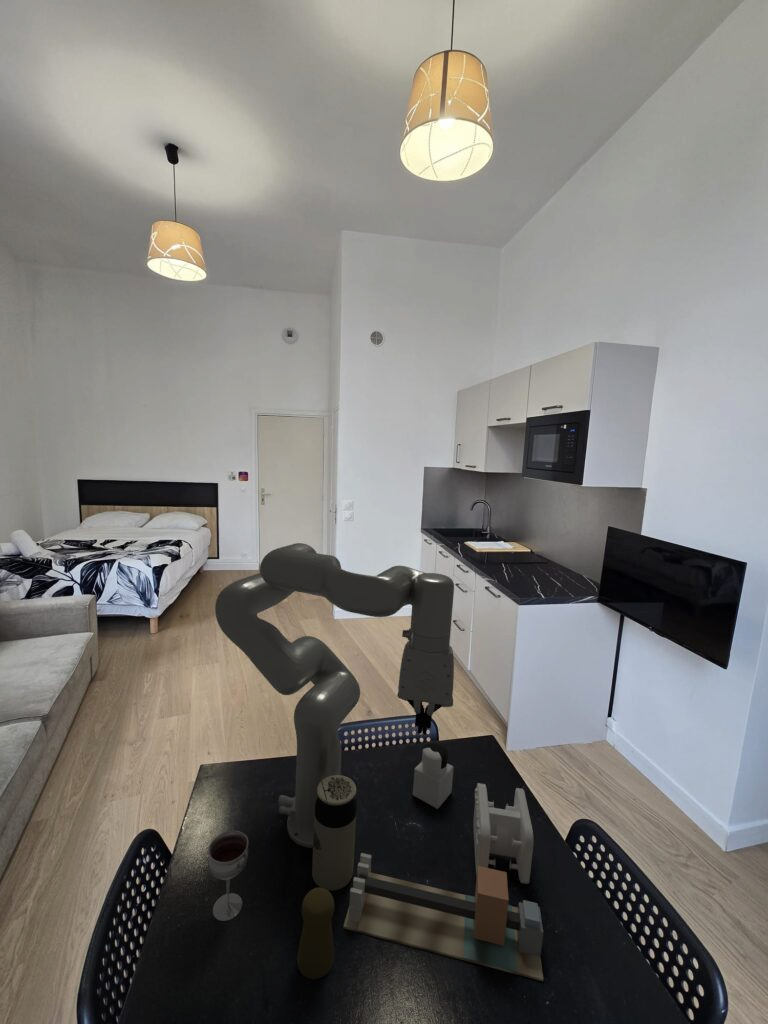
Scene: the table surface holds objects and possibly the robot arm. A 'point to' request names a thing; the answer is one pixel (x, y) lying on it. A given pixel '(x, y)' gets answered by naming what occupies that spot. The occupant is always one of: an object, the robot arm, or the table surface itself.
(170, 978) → the table surface
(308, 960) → the yellow peg figure
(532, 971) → the board
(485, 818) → the cable organizer
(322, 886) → the travel mug
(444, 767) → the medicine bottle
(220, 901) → the wineglass
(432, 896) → the dark grey bar
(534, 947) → the connector
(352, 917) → the cable comb
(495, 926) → the brown rectangular block
